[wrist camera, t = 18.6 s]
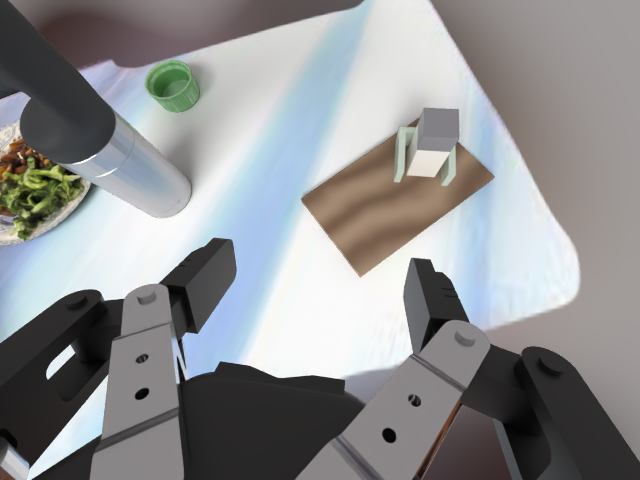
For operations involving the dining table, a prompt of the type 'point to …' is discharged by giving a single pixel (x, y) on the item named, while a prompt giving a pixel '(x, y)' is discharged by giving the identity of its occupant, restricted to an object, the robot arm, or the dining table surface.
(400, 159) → the end holder
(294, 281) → the dining table surface
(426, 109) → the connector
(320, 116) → the dining table surface
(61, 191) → the plate of food
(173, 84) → the ramekin
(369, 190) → the board
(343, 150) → the dining table surface
